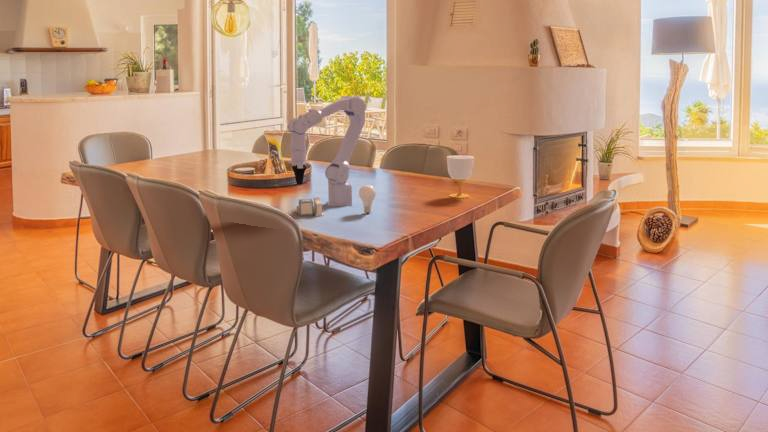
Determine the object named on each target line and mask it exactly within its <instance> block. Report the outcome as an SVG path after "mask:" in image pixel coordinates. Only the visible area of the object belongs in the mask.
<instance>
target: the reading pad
mask: <svg viewBox="0 0 768 432" xmlns="http://www.w3.org/2000/svg"><path fill="white" fill-rule="evenodd" d="M297 215H298V217H299V218H300V217H313V215H314V214H313V215H300V214H299V212H298V213H297Z"/></svg>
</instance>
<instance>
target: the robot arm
mask: <svg viewBox="0 0 768 432" xmlns="http://www.w3.org/2000/svg"><path fill="white" fill-rule="evenodd" d="M366 109H367V104H366V103H365V100H364V98H362V97H361V96H349V95H346V96H344V97H340V98H339V99H336V100H334V101H333V102H332V103H329V104H328V105H326V106H324V107H322V108H321V109H316V108H314V109H313V108H309V110H308V112H305V113H304V114H299V115H298V117H292V118H291V119H290V120H289V121H288V124H287V126H286V128H287V130H288V131H289V133H290V157H291V160H287V163H288V164H293V165H292V166H290V167H291V169H292V171H293V174H294V177H295V182H296V185H298V186H299V185H303V182H304V177H305V174H306V173H305V172H306V171H307V167H308V166H307V165H306V164H307V163H308V162H307V149H306V148H307V146H306V145H307V144H306V132H307V131H308V130H310V129H311V128H313V127H314V126H316V125H318V124H320V123H322V122H323V119H324V118H327V116H330V115H333V114H334V113H337V112H339V111H343V112H344V113H345V114H346V115H347V117H348V120H350V123H349V125H348V127H347V130H346V131H345V132H346V133H345V135H344V137H343V139H342V142H341V145H340V146H339V150H338V151H337V154H336V156H335V158H334V159H332V161H331V162H330V164H329V165H328V166H327V167H326V169H325V172H324V174H325V175H324V176H325V178H326V179H327V189H328V190H327V191H328V192H327V193H328V194H327V195H328V196H327V197H328V200H327V201H326V204H327V206H328V207H340V206H342V207H343V206H344V207H346V206H353V195H352V194H353V190H352V188H353V187H352V183H351V182H347V181H348V179H349V177H350V175H349V174H350V169H351V166H350V160H351V158H352V155H353V152H354V150H355V148H356V146H357V143H358V140H359V138H360V136H361V133H362V131H363V128H364V126H365V123H366Z"/></svg>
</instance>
